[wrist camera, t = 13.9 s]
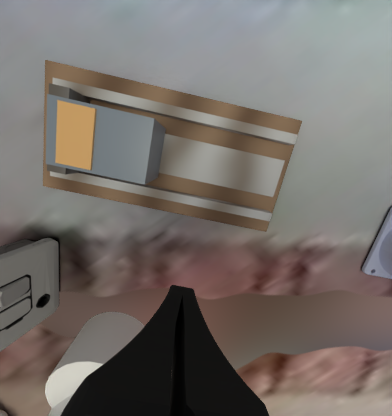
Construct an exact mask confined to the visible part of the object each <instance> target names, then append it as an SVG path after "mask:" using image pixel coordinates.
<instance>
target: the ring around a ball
mask: <svg viewBox="0 0 392 416" xmlns="http://www.w3.org/2000/svg"><path fill="white" fill-rule="evenodd" d="M0 416H8V415H7V413H6V412H5V411H3V410H0Z"/></svg>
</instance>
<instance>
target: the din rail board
mask: <svg viewBox="0 0 392 416" xmlns="http://www.w3.org/2000/svg"><path fill="white" fill-rule="evenodd" d="M47 94H50V95H55V96H59V97H63V98H68V99H72V100H76V101H81V102H85V103H89V104H94V105H98V106H102V107H107V108H111V109H115V110H120V111H124V112H129V113H133V114H137V115H142V116H146V117H150V118H155V119H156V120H157V121H158V122H159V123H160V124H161V125H162V126H163V127H164V128H165V129H166V131H165V137H164V143H163V149H162V155H161V161H160V168H159V174H158V178H156V179H154V180H153V181H151V182H149V183H147V184H145V185H144V184H139V183H134V182H130V181H125V180H120V179H115V178H111V177H106V176H101V175H97V174H92V173H87V172H82V171H78V170H73V169H68V168H63V167H59V166H54V165H49V164H46V124H47ZM301 123H302V121H300V120H296V119H291V118H287V117H283V116H279V115H275V114H270V113H266V112H262V111H258V110H254V109H249V108H245V107H241V106H237V105H233V104H228V103H224V102H220V101H216V100H212V99H207V98H203V97H199V96H195V95H191V94H186V93H182V92H178V91H174V90H170V89H165V88H161V87H157V86H153V85H149V84H144V83H140V82H136V81H132V80H128V79H123V78H119V77H115V76H111V75H107V74H102V73H98V72H94V71H90V70H86V69H81V68H77V67H73V66H69V65H65V64H60V63H56V62H52V61H48V60H45V105H44V160H43V186H46V187H51V188H56V189H61V190H65V191H70V192H75V193H80V194H85V195H90V196H95V197H100V198H104V199H109V200H114V201H119V202H124V203H129V204H134V205H139V206H143V207H148V208H153V209H158V210H163V211H168V212H173V213H177V214H182V215H187V216H192V217H197V218H202V219H207V220H212V221H216V222H221V223H226V224H231V225H236V226H241V227H246V228H251V229H255V230H260V231H265V232H266V231H267V228H268V225H269V222H270V220H271V217H272V212H273V209H274V206H275V203H276V200H277V197H278V194H279V191H280V188H281V185H282V182H283V178H284V175H285V172H286V169H287V166H288V163H289V160H290V157H291V154H292V151H293V148H294V145H295V143H296V140H297V137H298V132H299V129H300V126H301Z"/></svg>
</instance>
